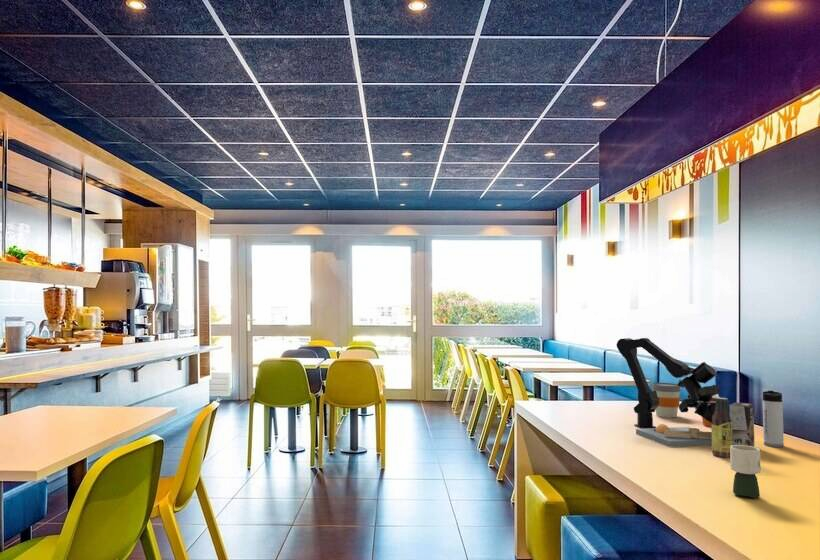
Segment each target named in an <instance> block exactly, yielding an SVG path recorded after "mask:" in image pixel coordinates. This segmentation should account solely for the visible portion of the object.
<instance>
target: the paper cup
mask: <svg viewBox="0 0 820 560" xmlns="http://www.w3.org/2000/svg"><path fill="white" fill-rule="evenodd" d="M712 397H713V398H712V399H711V400H710V401H714V400H715V398H720V396H719V393H717V395H714V396H712ZM701 418H702V419H701V420H702V425H704V426H705V427H707V426H708V428H712V423H711V422H709V421H708V420H706V419H705V418H703V417H702V416H701ZM704 426H703V427H704Z"/></svg>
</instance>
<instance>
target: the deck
mask: <svg viewBox="0 0 820 560" xmlns="http://www.w3.org/2000/svg"><path fill="white" fill-rule="evenodd" d="M656 428H657V427H656ZM656 428H636V429H635V434H636V435H638V436H640V435H641V436H640V437H643V438H645V437H646V439H648V440H650V439H651V440H650V441H653V440H654V442H656V443H658V442H659V444H661V443H662V444H661V445H663V444H664V445H663V446H666V445H667V446H666V447H669V446H680V447H697V446H699V447H700V446H712V438H691V437H672V436H664V434H661V433H658V432H656ZM668 428H669V430H680V431H689V428H691V427H690V426H683V427H682V426H681V427H679V426H677V427H668ZM699 431H702V432H704V431H703V430H700V429H699Z"/></svg>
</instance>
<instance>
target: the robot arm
mask: <svg viewBox="0 0 820 560" xmlns="http://www.w3.org/2000/svg"><path fill="white" fill-rule="evenodd" d="M616 348H617V350H618V352H619V353H620V355H621V356H622V357H623V358H624V359H625V361H626V363H627V366H628V369H629V372H630V373H631V375H632V379H633V381H634V384H635V386H636V388H637V400H638V403H637V404H636V405H635V406H634V407H633V411H634V413H635V414H637V415H636V416H637V417H636V419H637V423H634V424H633V426H635V427H638V428H639V429H649V428H657V426H655V425H654V420H653V419H654V418H653V413H654V412H655V413H656V410H655V409H656V408H657V407H658V405H659V400H660V399H659V398H658V396H657V392H656V391H653V390H652V388H650V386H649V383H648V382H647V379H646V377H645V374H644V372H643V369H642V366H641V364H640V361H639V359H638V348H642V349H643V350H645V351H646V352H647V353H648V354H650V355H651V356H652V357H654V358H655V359H656V360H657V361H659V362H660V363H661V364H662V365H663V366H664V367H665V369H666V371H667V372H668V373H669V374H670V375H671V376H672V377H674V378H676V379H679V380H678V382H677V384H678V386H680V388H684V389H685V391H686V392H687V394H688V395H687V398H683V399H682V400H681V401H680V403H679V407H678V410H679V411H680V413H688V412H689V408H690V409H691V408H692V409H695V411H694V414H697V415H699V416H700V417H701V418H702V417H703V418H705V419H706V420H708V421H709V422H711V423H712V416H713V415H714V413H715V408H716V402H715V400H714V401H710V400H711V399H712V398H713V397H712V396H714V395H717V394H719V393H720V392H721V390H720V387H719V386H718V385H717V384H712V385H707V386H702V385H701V384H705V385H706V384H707V383H708V382H710V381H711V380H712V379H714V378H715V377H717V376H718V373H717V371H716V370H715V369H714V368H713V367H712V366H711V365H709V364H708V363H706V362H705V361H702V362H701V363H700V364H699V365H698V366H697V367H695V368H693V367H690V366H689V365H688V364H687V363H685V362H683V361H681V360H678V359H676V358H674V357H673V356H671V355H669V354H668V353H667V352H666V351H664V350H663V349H662V348H661V347H659V346H658V345H657V344H655V343H654V342H653V341H652V340H650V338H648V337H641V338H637V339H636V338H635V339H632V338H630V337H626V338H625V337H624V338H619V339H618V341H617V342H616ZM680 378H682V379H680ZM728 405H730V402H729V401H728Z"/></svg>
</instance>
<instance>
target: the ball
mask: <svg viewBox="0 0 820 560" xmlns="http://www.w3.org/2000/svg"><path fill="white" fill-rule="evenodd" d="M669 428H670V427H669V426H668V425H666V424H663V423H662V424H658V425H657V426H656V432H658V433H661V434H664V430H669Z"/></svg>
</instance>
